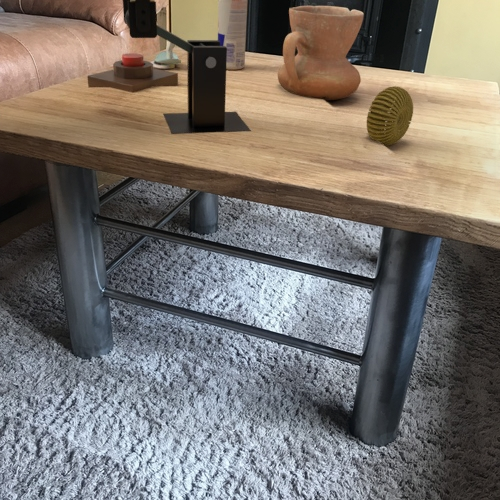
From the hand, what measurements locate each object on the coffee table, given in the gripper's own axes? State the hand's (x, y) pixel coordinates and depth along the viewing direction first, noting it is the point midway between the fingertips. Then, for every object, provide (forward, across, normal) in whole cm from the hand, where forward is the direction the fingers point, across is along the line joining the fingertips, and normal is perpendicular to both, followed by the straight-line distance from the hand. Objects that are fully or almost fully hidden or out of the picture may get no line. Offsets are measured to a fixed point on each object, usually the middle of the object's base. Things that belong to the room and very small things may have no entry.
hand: (139, 30), depth 71 cm
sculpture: (+14, +9, +32) cm, 36 cm away
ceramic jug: (+14, -17, +32) cm, 38 cm away
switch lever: (+2, 0, +3) cm, 4 cm away
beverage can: (+14, -39, +21) cm, 46 cm away
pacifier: (+14, -40, +8) cm, 43 cm away
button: (+10, -24, +1) cm, 26 cm away
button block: (+13, -24, 0) cm, 28 cm away
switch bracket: (+13, 0, +9) cm, 16 cm away
